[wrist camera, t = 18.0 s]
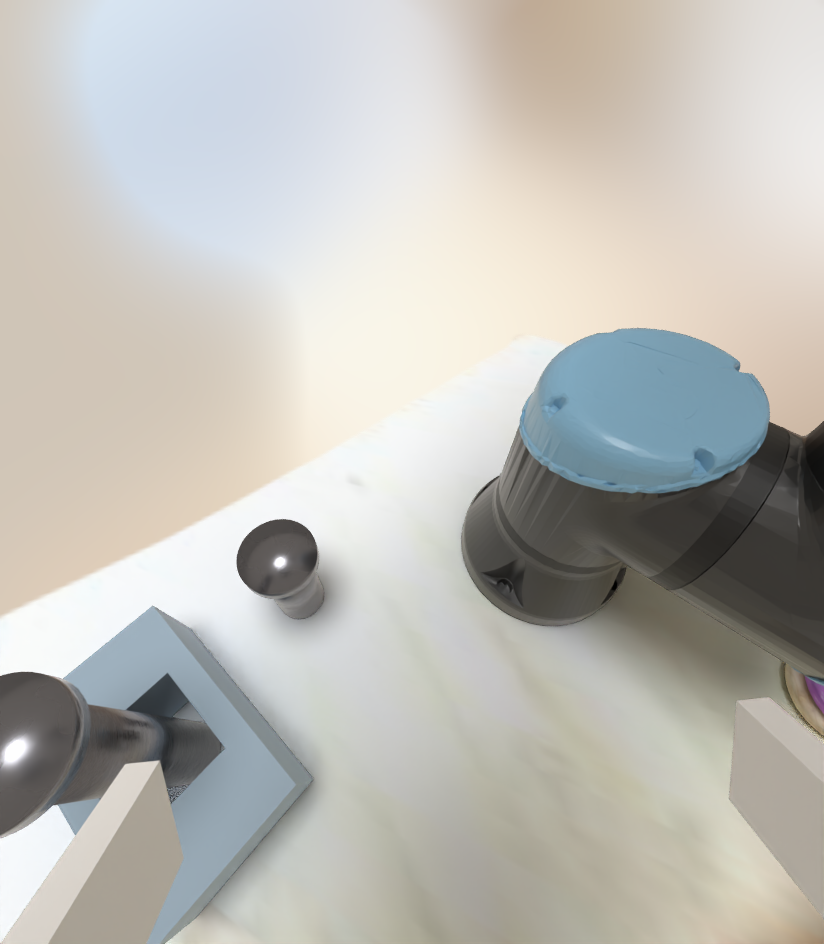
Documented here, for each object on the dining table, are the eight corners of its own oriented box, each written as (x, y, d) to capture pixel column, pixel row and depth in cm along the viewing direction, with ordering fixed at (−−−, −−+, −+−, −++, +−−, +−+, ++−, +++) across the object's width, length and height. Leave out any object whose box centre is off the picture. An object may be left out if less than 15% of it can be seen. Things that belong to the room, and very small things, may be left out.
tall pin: (236, 708, 36) (92, 668, 19) (224, 795, 33) (40, 842, 16) (164, 712, 35) (-49, 674, 18) (145, 800, 32) (-131, 852, 15)
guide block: (313, 779, 33) (296, 784, 27) (196, 917, 29) (145, 959, 23) (190, 628, 39) (152, 605, 33) (76, 726, 35) (10, 721, 29)
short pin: (334, 565, 42) (319, 518, 34) (331, 627, 39) (313, 592, 31) (273, 567, 42) (243, 520, 33) (266, 629, 39) (230, 595, 30)
